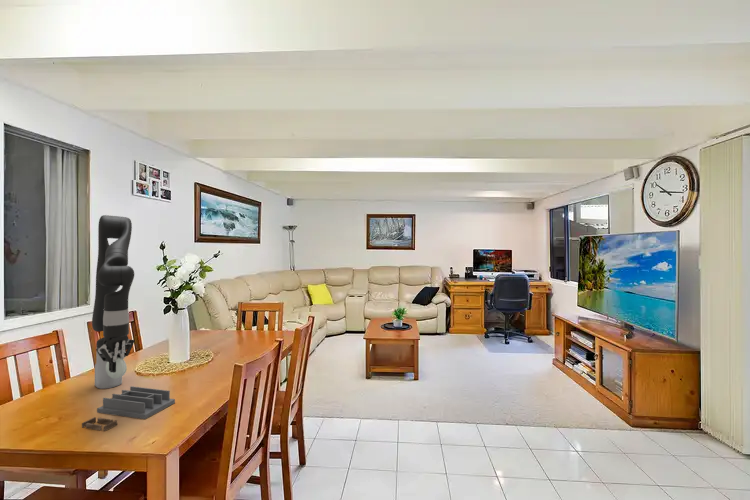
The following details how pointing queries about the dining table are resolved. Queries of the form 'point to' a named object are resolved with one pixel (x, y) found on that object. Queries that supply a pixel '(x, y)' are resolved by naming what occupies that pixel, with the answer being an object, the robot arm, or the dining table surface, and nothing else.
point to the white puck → (117, 368)
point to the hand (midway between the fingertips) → (116, 370)
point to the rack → (137, 402)
